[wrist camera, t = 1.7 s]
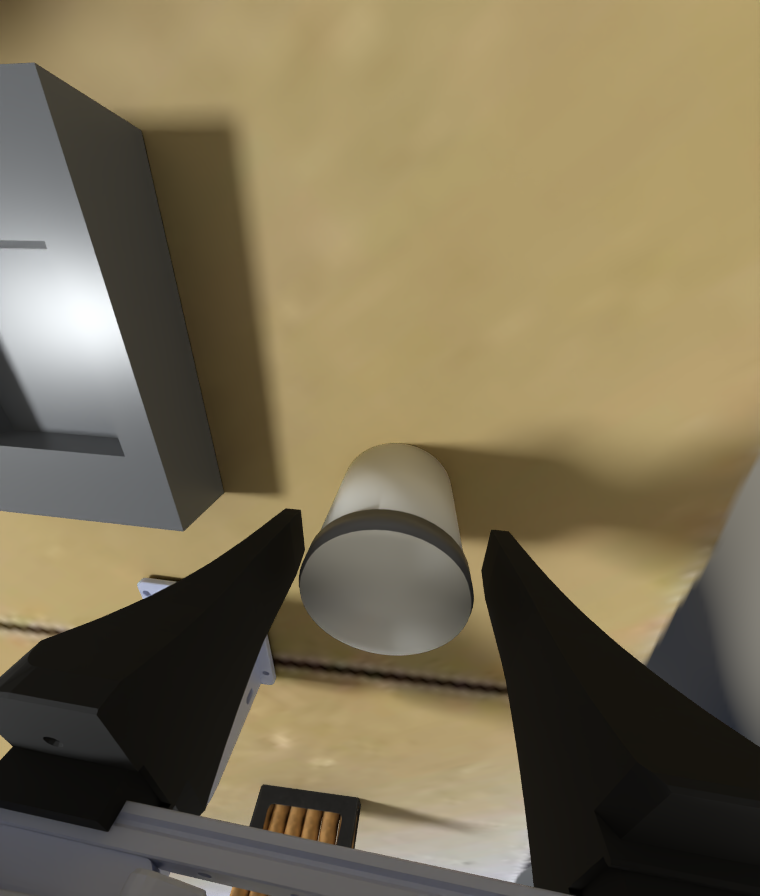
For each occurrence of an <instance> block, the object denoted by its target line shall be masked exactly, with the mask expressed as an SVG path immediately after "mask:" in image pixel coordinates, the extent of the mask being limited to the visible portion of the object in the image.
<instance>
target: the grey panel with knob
mask: <svg viewBox="0 0 760 896" xmlns="http://www.w3.org/2000/svg"><path fill="white" fill-rule="evenodd" d="M223 493H224V491H223V486H222V482H221V477H220V473H219V469H218V464H217V460H216V456H215V451H214V447H213V443H212V438H211V434H210V429H209V425H208V421H207V416H206V412H205V408H204V403H203V399H202V394H201V390H200V386H199V381H198V377H197V373H196V368H195V364H194V359H193V355H192V351H191V346H190V342H189V338H188V333H187V329H186V324H185V320H184V316H183V311H182V307H181V303H180V298H179V294H178V289H177V285H176V281H175V276H174V272H173V268H172V263H171V259H170V254H169V250H168V246H167V241H166V237H165V233H164V228H163V224H162V219H161V215H160V211H159V206H158V202H157V198H156V193H155V189H154V184H153V180H152V176H151V171H150V167H149V163H148V158H147V154H146V149H145V145H144V141H143V136H142V132H141V130H140V129H138V128H137V127H135V126H134V125H132V124H130V123H129V122H127V121H126V120H124V119H122V118H121V117H119V116H118V115H116V114H115V113H113V112H111V111H110V110H108V109H107V108H105V107H104V106H102V105H100V104H99V103H97V102H96V101H94V100H92V99H91V98H89V97H88V96H86V95H85V94H83V93H81V92H80V91H78V90H77V89H75V88H74V87H72V86H70V85H69V84H67V83H66V82H64V81H62V80H61V79H59V78H58V77H56V76H55V75H53V74H51V73H50V72H48V71H47V70H45V69H44V68H42V67H40V66H39V65H37V64H36V63H17V64H0V511H7V512H15V513H24V514H33V515H42V516H51V517H60V518H69V519H78V520H87V521H95V522H104V523H113V524H122V525H131V526H140V527H149V528H158V529H167V530H175V531H185V530H186V529H187V528H188V527H189V526H190V525H191V524H192V523H193V522H194V521H195V520H196V519H197V518H198V517H199V516H200V515H201V514H202V513H203V512H204V511H206V510H207V509H208V508H209V507H210V506H211V505H212V504H213V503H214V502H215V501H216V500H217V499H218V498H219V497H220V496H221V495H222V494H223Z"/></svg>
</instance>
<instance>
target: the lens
mask: <svg viewBox="0 0 760 896" xmlns="http://www.w3.org/2000/svg"><path fill="white" fill-rule="evenodd" d="M299 588H300V594H301V599H302V602H303V604H304V607H305V609H306V610H307V612H308V614H309V615H310V616H311V618H312V619H313V620H314V621H315V622H316V624H317V625H318V626H319V627H320V628H322V629H323V630H324V631H325V632H326V633H328V634H329V635H331V636H332V637H334V638H335V639H337V640H339V641H341V642H343V643H345V644H347V645H349V646H351V647H354V648H357V649H360V650H363V651H367V652H371V653H376V654H383V655H412V654H419V653H423V652H427V651H430V650H433V649H436V648H438V647H440V646H442V645H444V644H446V643H448V642H449V641H451V640H452V639H453V638H455V637H456V636H457V635H458V634H459V633H460V632H461V630H462V629H463V628H464V626H465V625H466V623H467V621H468V618H469V616H470V614H471V611H472V608H473V602H474V594H473V586H472V581H471V576H470V570H469V566H468V562H467V559H466V557H465V555H464V553H463V549H462V544H461V538H460V532H459V527H458V521H457V515H456V510H455V504H454V498H453V492H452V487H451V482H450V478H449V476H448V474H447V472H446V470H445V468H444V467H443V466H442V464H441V463H440V462H439V461H438V460H437V459H436V458H435V457H434V456H432V455H431V454H430V453H428V452H426V451H424V450H423V449H420V448H418V447H415V446H412V445H408V444H401V443H389V444H382V445H378V446H375V447H372V448H370V449H368V450H366V451H364V452H363V453H361V454H360V455H359V456H358V457H357V458H356V459H354V461H353V462H352V463H351V465H350V466H349V468H348V470H347V472H346V474H345V477H344V479H343V481H342V483H341V486H340V488H339V490H338V492H337V495H336V497H335V499H334V501H333V504H332V506H331V508H330V510H329V513H328V515H327V517H326V519H325V522H324V524H323V526H322V528H321V531H320V532H319V533H318V534H317V535H316V537H315V538H314V540H313V542H312V543H311V546H310V548H309V550H308V552H307V554H306V556H305V559H304V561H303V563H302V566H301V569H300V574H299Z"/></svg>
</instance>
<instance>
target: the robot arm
mask: <svg viewBox="0 0 760 896" xmlns="http://www.w3.org/2000/svg"><path fill="white" fill-rule="evenodd" d="M304 551H305V546H304V536H303V526H302V517H301V510H296V509H284V510H283V511H282V512H280V513H279V514H278V515H276V516H275V517H274V518H272V519H271V520H270V521H268V522H267V523H266V524H265V525H263V526H262V527H261V528H259V529H258V530H257V531H255V532H254V533H253V534H251V535H250V536H249V537H247V538H246V539H245V540H243V541H242V542H240V543H239V544H237V545H236V546H235V547H233V548H232V549H230V550H229V551H227V552H226V553H224V554H223V555H221V556H220V557H218V558H217V559H215V560H214V561H212V562H211V563H209V564H207V565H206V566H204V567H202V568H201V569H199V570H197V571H196V572H194V573H192V574H190V575H189V576H187V577H185V578H183V579H182V580H180V581H178V582H176V581H168V580H160V579H153V578H143V579H141V580H140V581H139V582H138V584H137V586H138V589H139V591H140V593H141V595H142V598H143V599H142V600H140V601H138V602H136V603H134V604H131V605H129V606H127V607H125V608H122V609H120V610H118V611H115V612H113V613H111V614H109V615H106V616H104V617H101V618H99V619H96V620H94V621H92V622H89V623H86V624H84V625H81V626H78V627H76V628H73V629H71V630H68V631H65V632H63V633H60V634H57V635H55V636H52V637H49V638H47V639H44V640H41V641H40V642H39V643H38V644H37V645H36V646H35V647H33V648H32V649H31V650H30V651H29V652H28V653H27V654H25V655H24V656H23V657H22V658H21V659H20V660H19V661H18V662H16V663H15V664H14V665H13V666H12V667H11V668H10V669H8V670H7V671H6V672H5V673H4V674H3V675H2V676H1V677H0V735H1V736H2V737H3V738H4V739H5V740H7V741H8V742H9V743H10V744H11V745H12V746H13V747H12V748H11V749H10V750H9V751H8V753H7V754H6V755H5V756H4V757H3V758H2V759H1V760H0V896H206V891H205V890H203V889H201V888H198V887H195V886H193V885H190V884H187V883H185V882H182V881H179V880H177V879H174V878H171V877H169V874H170V872H172V873H177V874H181V875H185V876H189V877H194V878H198V879H202V880H207V881H211V882H215V883H219V884H224V885H228V886H232V887H236V888H241V889H245V890H249V891H253V892H258V893H262V894H266V895H270V896H760V747H759V746H757V745H755V744H754V743H753V742H751V741H750V740H748V739H747V738H745V737H744V736H742V735H741V734H739V733H738V732H736V731H735V730H733V729H732V728H730V727H729V726H727V725H726V724H724V723H723V722H721V721H720V720H718V719H717V718H715V717H714V716H712V715H711V714H709V713H708V712H706V711H705V710H704V709H702V708H701V707H699V706H698V705H697V704H695V703H694V702H692V701H691V700H690V699H688V698H687V697H686V696H684V695H683V694H682V693H680V692H679V691H677V690H676V689H675V688H673V687H672V686H671V685H669V684H668V683H667V682H665V681H664V680H663V679H661V678H660V677H659V676H657V675H656V674H655V673H653V672H652V671H651V670H649V669H648V668H647V667H646V666H645V665H643V664H642V663H641V662H640V661H638V660H637V659H636V658H635V657H633V656H632V655H631V654H630V653H628V652H627V651H626V650H625V649H623V648H622V647H621V646H620V645H619V644H617V643H616V642H615V641H614V640H613V639H612V638H610V637H609V636H608V635H607V634H606V633H605V632H604V631H602V630H601V629H600V628H599V627H598V626H597V625H596V624H595V623H594V622H592V621H591V620H590V619H589V618H588V617H587V616H586V615H585V614H584V613H583V612H582V611H581V610H580V609H578V608H577V607H576V606H575V605H574V604H573V603H572V602H571V601H570V600H569V599H568V598H567V597H566V596H565V595H564V594H563V593H562V591H561V590H560V589H559V588H558V587H557V586H556V585H555V584H554V583H553V582H552V581H551V580H550V579H549V578H548V577H547V575H546V574H545V573H544V572H543V571H542V570H541V569H540V568H539V567H538V565H537V564H536V563H535V562H534V561H533V560H532V558H531V557H530V556H529V555H528V554H527V553H526V551H525V550H524V549H523V548H522V547H521V545H520V544H519V543H518V542H517V541H516V540H515V538H514V537H513V536H512V535H511V534H510V532H508V531H499V530H491V533H490V537H489V541H488V546H487V550H486V554H485V558H484V562H483V566H482V570H481V571H482V579H483V587H484V594H485V600H486V604H487V608H488V612H489V616H490V620H491V623H492V627H493V631H494V635H495V639H496V643H497V646H498V650H499V654H500V658H501V662H502V666H503V670H504V675H505V679H506V685H507V691H508V696H509V702H510V708H511V714H512V721H513V727H514V734H515V740H516V747H517V753H518V760H519V768H520V775H521V783H522V790H523V797H524V805H525V813H526V822H527V830H528V838H529V847H530V855H531V864H532V873H533V883H534V887H531V886H525V885H520V884H517V883H512V882H507V881H502V880H498V879H493V878H488V877H484V876H479V875H474V874H470V873H465V872H460V871H455V870H451V869H446V868H441V867H437V866H432V865H427V864H423V863H418V862H413V861H409V860H404V859H399V858H394V857H390V856H385V855H380V854H376V853H371V852H366V851H362V850H357V849H352V848H348V847H343V846H338V845H333V844H329V843H324V842H319V841H315V840H310V839H305V838H301V837H296V836H291V835H287V834H282V833H277V832H272V831H268V830H263V829H258V828H254V827H249V826H244V825H240V824H235V823H230V822H226V821H221V820H216V819H211V818H207V817H202V816H200V815H201V814H202V813H203V812H204V811H205V809H206V806H207V805H208V803H209V801H210V800H211V798H212V796H213V794H214V792H215V790H216V788H217V786H218V784H219V782H220V779H221V777H222V774H223V772H224V770H225V767H226V765H227V763H228V760H229V758H230V755H231V753H232V751H233V748H234V746H235V744H236V741H237V739H238V736H239V734H240V732H241V729H242V727H243V725H244V722H245V720H246V717H247V715H248V713H249V710H250V708H251V706H252V703H253V701H254V698H255V696H256V694H257V691H258V689H259V687H260V684H267V685H272V684H274V682H275V680H276V674H275V669H274V664H273V659H272V654H271V649H270V644H269V639H268V635H267V633H268V631H269V629H270V627H271V625H272V623H273V621H274V619H275V617H276V615H277V613H278V611H279V609H280V607H281V605H282V603H283V601H284V599H285V597H286V595H287V593H288V591H289V589H290V587H291V585H292V583H293V581H294V578H295V576H296V574H297V571H298V569H299V566H300V563H301V560H302V557H303V554H304Z"/></svg>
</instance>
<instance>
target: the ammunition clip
mask: <svg viewBox="0 0 760 896" xmlns="http://www.w3.org/2000/svg"><path fill="white" fill-rule="evenodd" d="M360 808H361V805H360V801H359V799H358V798H356V797H349V796H342V795H335V794H328V793H321V792H314V791H306V790H299V789H292V788H285V787H278V786H271V785H264V784H263V785H262V786H261V789H260V792H259V796H258V799H257V802H256V806H255V809H254V812H253V816H252V819H251V823H250V826H249V827H254V828H258V829H263V830H268V831H272V832H277V833H282V834H287V835H291V836H296V837H301V838H305V839H310V840H315V841H319V842H324V843H329V844H333V845H335V843H336V845H338V846H343V847H348V848H352V849H354V848H355V842H356V835H357V828H358V822H359V815H360ZM322 817H323V818H322ZM339 820H340V823H339ZM321 821H322V824H321ZM338 824H339V829H338ZM320 826H321V829H320ZM337 830H338V836H337ZM319 831H320V834H319ZM318 836H319V840H318ZM336 837H337V842H336ZM230 896H270V895H266V894H262V893H258V892H253V891H249V890H245V889H241V888H236V887H232V890H231V893H230Z"/></svg>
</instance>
